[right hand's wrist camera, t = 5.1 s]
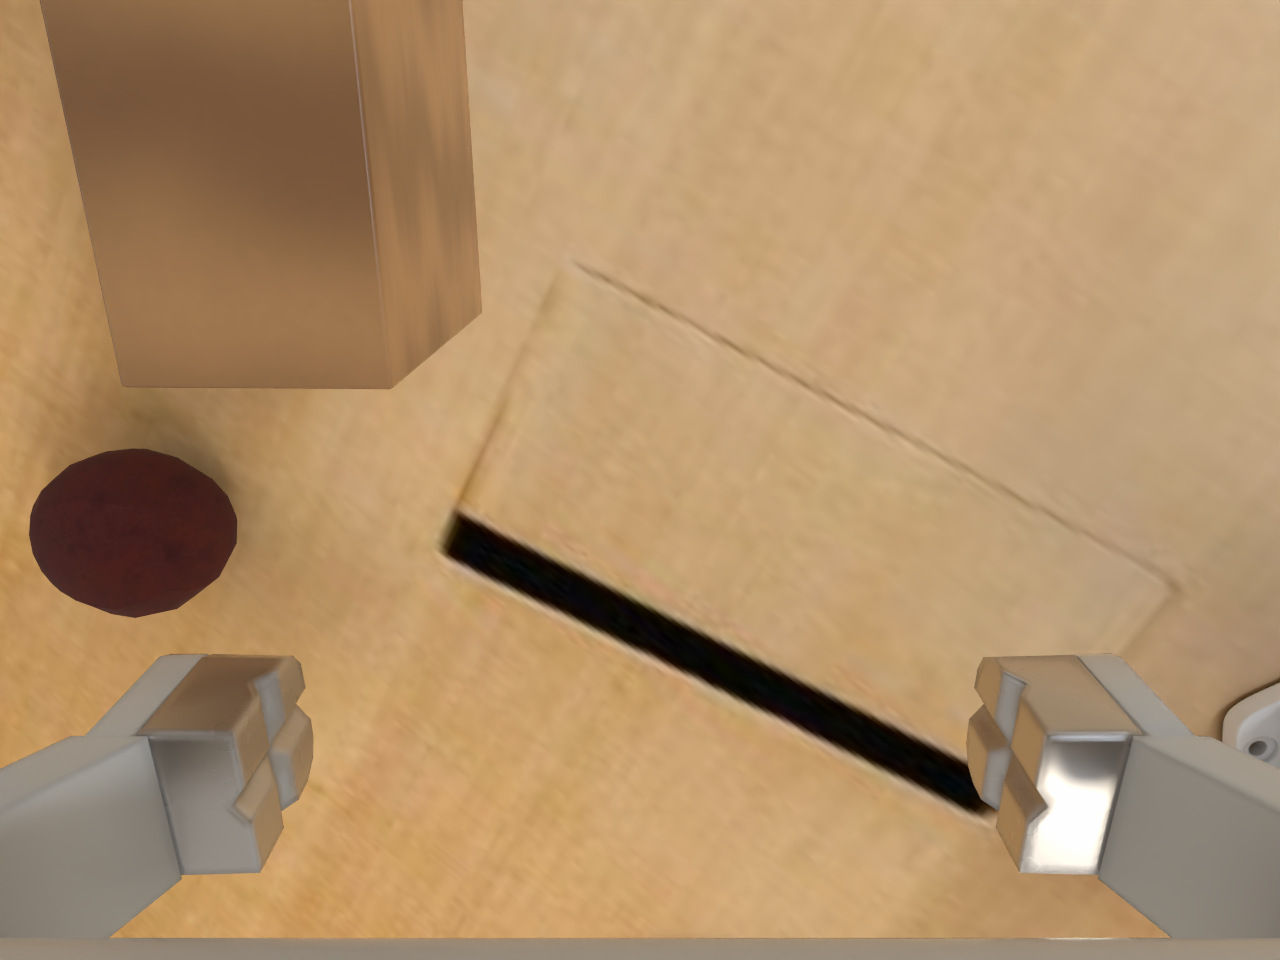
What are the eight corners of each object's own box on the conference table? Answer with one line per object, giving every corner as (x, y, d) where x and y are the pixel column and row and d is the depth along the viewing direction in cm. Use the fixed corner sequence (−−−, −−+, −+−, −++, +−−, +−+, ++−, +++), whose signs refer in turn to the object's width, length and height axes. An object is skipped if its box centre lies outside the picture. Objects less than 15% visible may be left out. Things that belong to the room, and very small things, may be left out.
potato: (82, 429, 40) (-34, 483, 33) (248, 427, 40) (165, 481, 33) (119, 574, 42) (18, 651, 36) (275, 572, 42) (203, 650, 36)
